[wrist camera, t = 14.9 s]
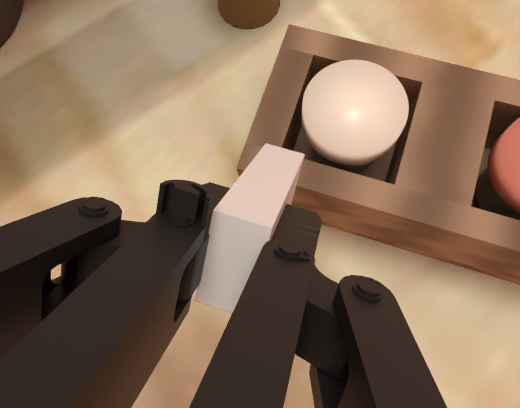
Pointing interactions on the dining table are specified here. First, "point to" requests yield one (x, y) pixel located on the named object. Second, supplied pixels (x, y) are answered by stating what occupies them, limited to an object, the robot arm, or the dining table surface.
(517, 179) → the red button
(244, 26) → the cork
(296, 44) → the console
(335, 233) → the dining table surface
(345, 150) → the ivory button
